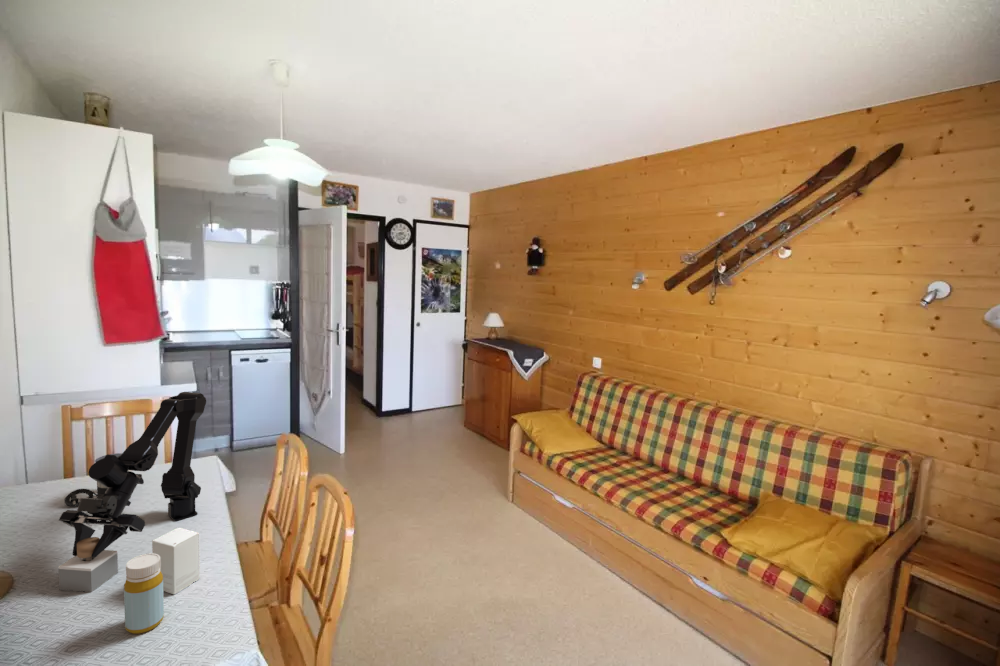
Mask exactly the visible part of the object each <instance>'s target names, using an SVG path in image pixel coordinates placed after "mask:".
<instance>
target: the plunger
mask: <svg viewBox="0 0 1000 666" xmlns="http://www.w3.org/2000/svg"><path fill="white" fill-rule="evenodd" d="M99 540H100V537H96V536H91V537H90V538H86V539H83V540H81V541H79V542H78V543H77V557H79V558H86V561H91V560H92V553H93V551H94V549H95V547H96V545H97V543H98V541H99Z"/></svg>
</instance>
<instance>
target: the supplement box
mask: <svg viewBox="0 0 1000 666" xmlns="http://www.w3.org/2000/svg"><path fill="white" fill-rule="evenodd" d="M151 545H152V547H151V548H152V553H153V554H158V555H159V556H160V561H161V566H160V571H161V573H162V575H163V592H166V593H168V594H172V595H176V594H178V593H180V592H181V591H182V590H184V589H186V588H187V587H189V586H191V585H192V584H194V583H196V582H198V580H201V570H200V569H201V568H200V567H201V566H200V564H201V563H200V560H201V559H200V533H199V532H196V531H192V530H191V529H190V530H189V529H186V528H184V527H183V528H182V527H176V528H175V529H173V530H170V531H168V532H166V533H164V534H162V535H161V536H158V537H156V538H155V539H152V541H151ZM195 581H196V582H195ZM193 582H194V583H193ZM190 584H191V585H190Z"/></svg>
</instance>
